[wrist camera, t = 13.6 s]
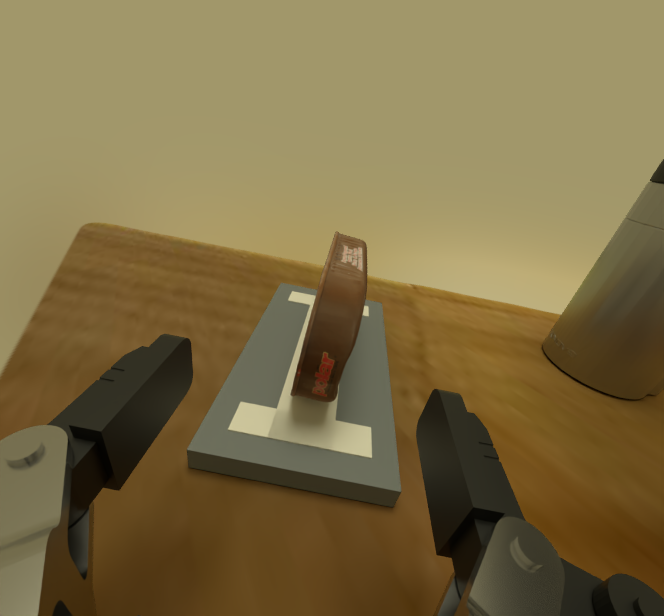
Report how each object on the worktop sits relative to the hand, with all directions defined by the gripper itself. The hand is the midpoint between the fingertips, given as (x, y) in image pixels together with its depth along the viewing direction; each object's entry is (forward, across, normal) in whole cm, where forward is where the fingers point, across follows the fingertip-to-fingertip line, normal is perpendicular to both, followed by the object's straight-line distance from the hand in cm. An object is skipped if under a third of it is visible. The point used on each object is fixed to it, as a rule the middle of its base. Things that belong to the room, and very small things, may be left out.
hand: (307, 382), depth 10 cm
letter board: (+12, 0, +9) cm, 15 cm away
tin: (+12, 0, +8) cm, 14 cm away
